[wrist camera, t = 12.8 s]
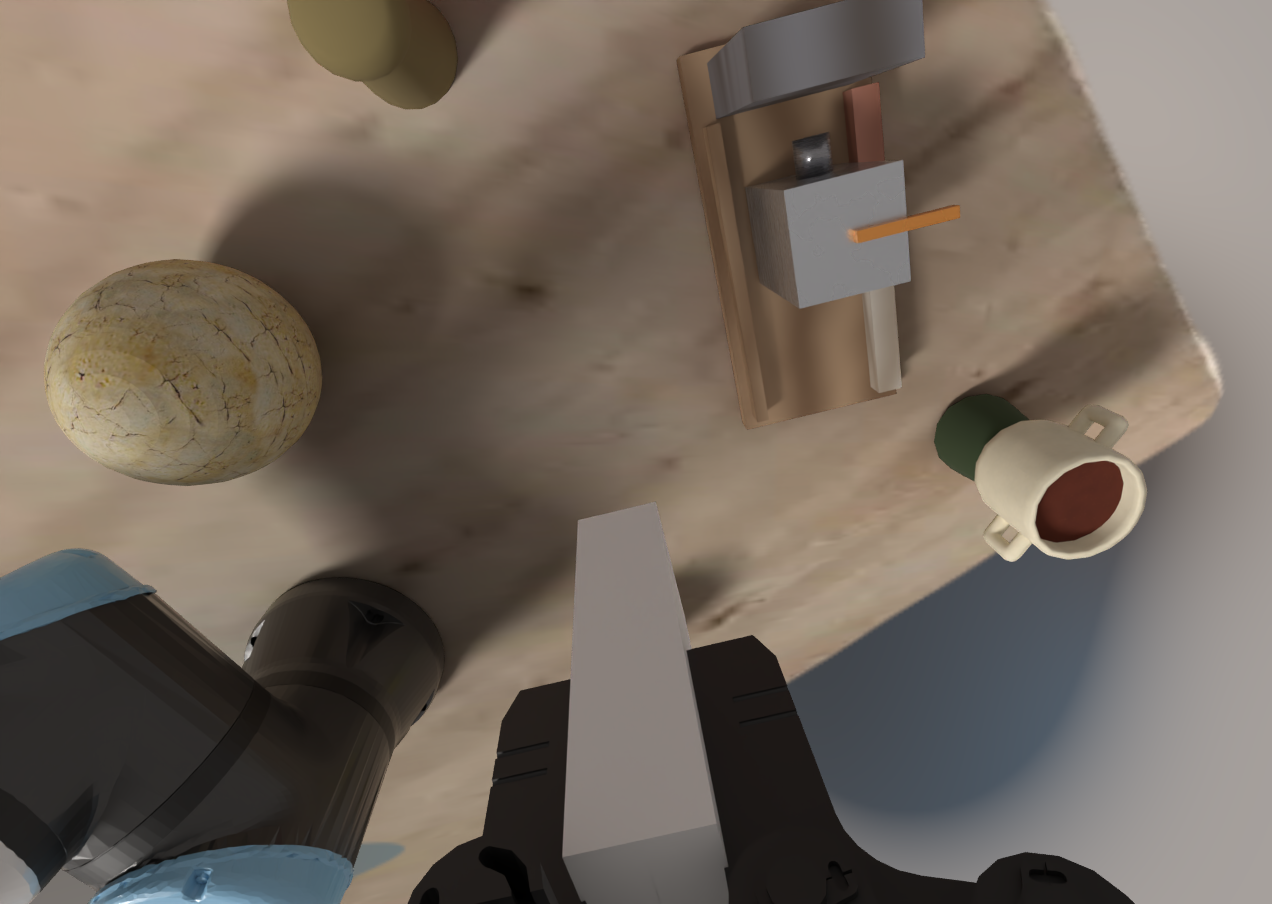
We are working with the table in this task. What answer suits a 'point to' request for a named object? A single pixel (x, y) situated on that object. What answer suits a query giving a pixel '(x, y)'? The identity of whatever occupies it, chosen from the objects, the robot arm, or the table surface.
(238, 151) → the table surface
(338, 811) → the robot arm
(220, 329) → the fossilized egg
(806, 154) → the grey cube with stick
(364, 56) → the olive knobbed pawn
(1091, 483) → the character mug
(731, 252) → the brown grey l-shaped piece
